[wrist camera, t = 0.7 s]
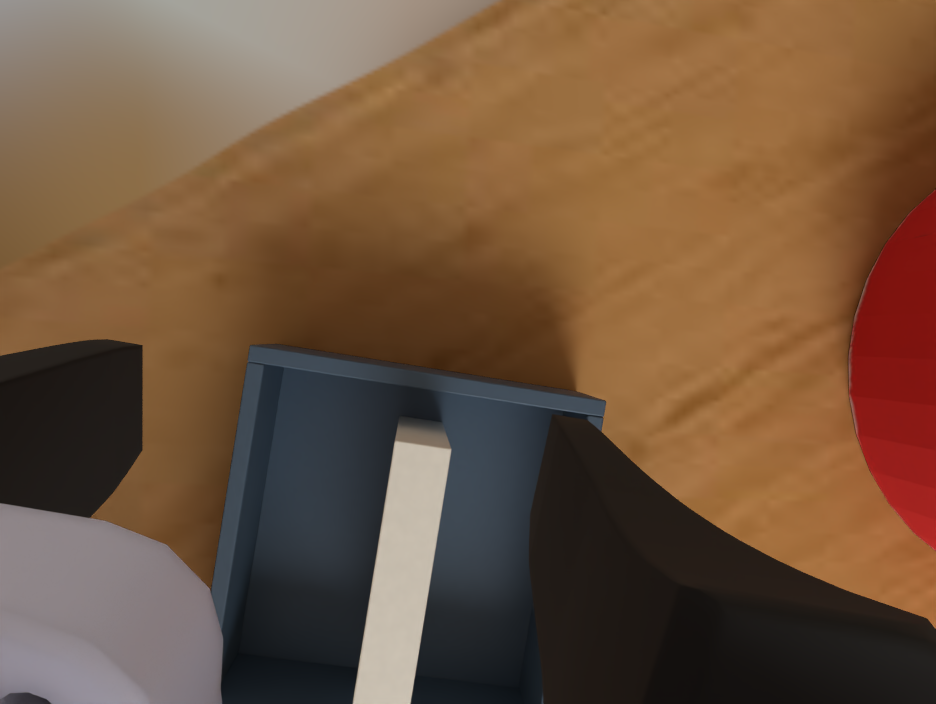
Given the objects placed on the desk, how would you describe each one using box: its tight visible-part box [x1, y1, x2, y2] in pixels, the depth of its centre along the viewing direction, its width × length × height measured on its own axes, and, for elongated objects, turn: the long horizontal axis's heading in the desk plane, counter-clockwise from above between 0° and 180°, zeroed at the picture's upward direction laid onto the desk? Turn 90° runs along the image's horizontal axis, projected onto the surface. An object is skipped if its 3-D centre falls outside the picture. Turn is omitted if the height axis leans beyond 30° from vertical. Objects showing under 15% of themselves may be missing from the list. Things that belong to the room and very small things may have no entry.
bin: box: [211, 344, 606, 704], centre depth 27 cm, size 13×13×5 cm
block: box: [353, 416, 451, 704], centre depth 26 cm, size 9×2×7 cm, turn 171°
